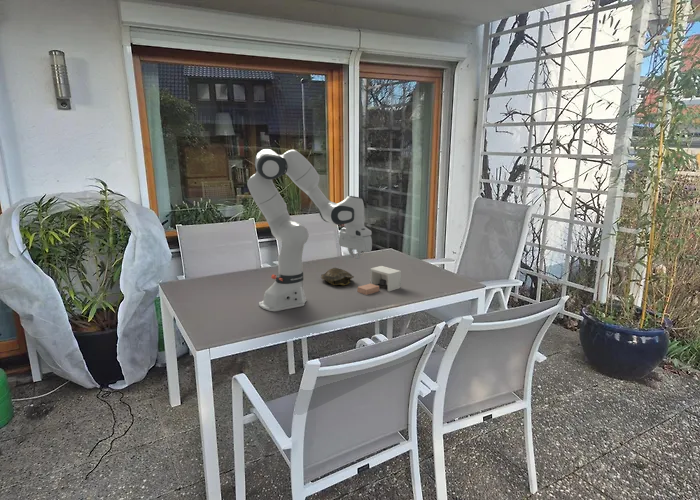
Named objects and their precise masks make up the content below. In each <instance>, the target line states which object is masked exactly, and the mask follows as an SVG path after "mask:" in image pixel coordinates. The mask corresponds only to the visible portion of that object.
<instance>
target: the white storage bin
mask: <svg viewBox="0 0 700 500" xmlns="http://www.w3.org/2000/svg"><path fill="white" fill-rule="evenodd" d="M401 276H402V271H401V270H399V269H395V268H391V267H387V266H383V265H379V266H375V267H372V268H371V267H370V268H369V284H374V285H378V284H379V285H381V284H380V280H381V279H384V280H386V285H387V292H391V291H395V290H398V289H400V288H401V281H402V280H401V279H402V277H401ZM386 285H385V286H386Z"/></svg>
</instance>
